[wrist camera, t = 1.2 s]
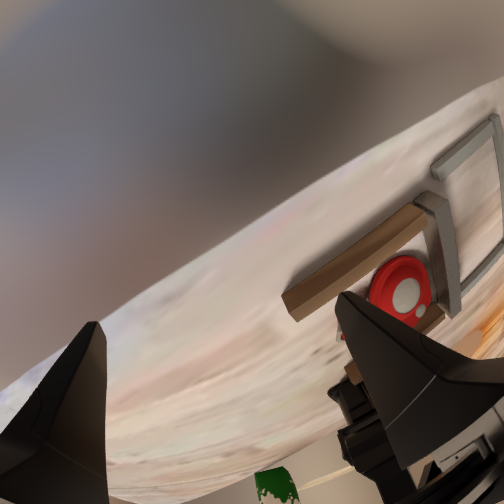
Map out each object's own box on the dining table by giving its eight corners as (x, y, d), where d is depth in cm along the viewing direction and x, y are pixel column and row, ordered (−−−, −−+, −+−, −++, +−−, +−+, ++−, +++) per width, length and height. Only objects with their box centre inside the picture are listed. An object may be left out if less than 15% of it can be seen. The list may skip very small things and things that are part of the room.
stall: (435, 307, 31) (445, 318, 29) (347, 372, 33) (354, 385, 31) (408, 202, 23) (425, 211, 21) (281, 295, 25) (288, 313, 23)
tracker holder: (406, 238, 24) (450, 290, 26) (382, 234, 28) (427, 282, 30) (333, 343, 24) (390, 378, 26) (318, 326, 29) (373, 361, 30)
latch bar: (448, 297, 31) (461, 310, 28) (438, 306, 31) (451, 319, 28) (427, 189, 22) (447, 200, 20) (414, 200, 23) (434, 212, 20)
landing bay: (507, 241, 29) (511, 243, 29) (455, 296, 31) (459, 300, 31) (493, 113, 19) (499, 114, 19) (430, 166, 21) (437, 169, 21)
